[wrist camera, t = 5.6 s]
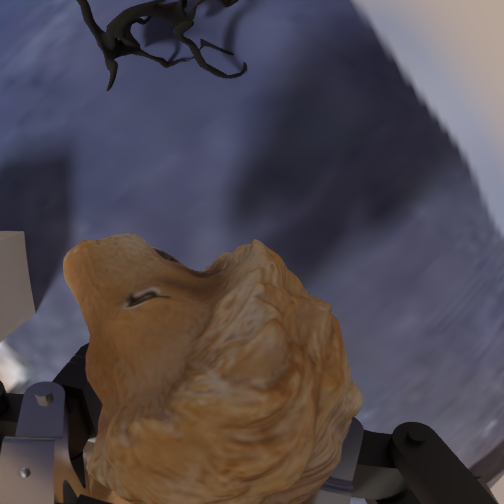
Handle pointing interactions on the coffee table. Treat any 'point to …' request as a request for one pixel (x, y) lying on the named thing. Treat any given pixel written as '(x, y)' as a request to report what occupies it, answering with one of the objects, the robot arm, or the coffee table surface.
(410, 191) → the coffee table surface
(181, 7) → the creature
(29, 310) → the beige block
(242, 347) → the lion figurine
